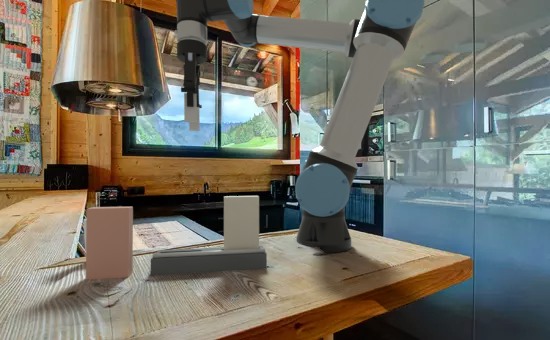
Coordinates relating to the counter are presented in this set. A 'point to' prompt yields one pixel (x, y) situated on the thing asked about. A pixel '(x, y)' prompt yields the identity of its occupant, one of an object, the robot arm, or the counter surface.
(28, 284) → the counter surface
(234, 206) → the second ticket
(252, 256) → the grey stand base
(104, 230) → the panel
